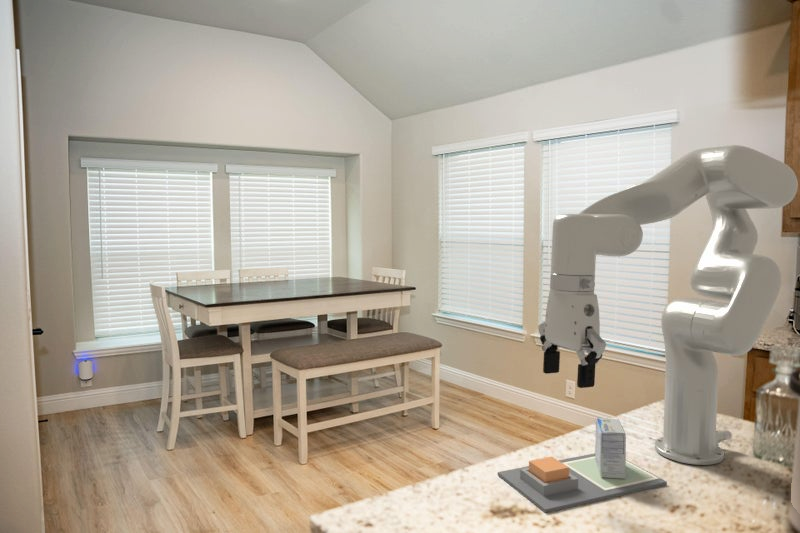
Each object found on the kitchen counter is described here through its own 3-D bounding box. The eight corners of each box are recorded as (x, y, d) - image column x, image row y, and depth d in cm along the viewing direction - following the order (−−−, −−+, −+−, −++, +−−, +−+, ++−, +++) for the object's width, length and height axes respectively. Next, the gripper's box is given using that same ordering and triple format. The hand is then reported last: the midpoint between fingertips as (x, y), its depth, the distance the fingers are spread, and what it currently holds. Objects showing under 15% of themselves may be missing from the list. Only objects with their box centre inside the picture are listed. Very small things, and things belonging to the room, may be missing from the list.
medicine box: (625, 480, 106) (626, 433, 105) (599, 478, 107) (600, 432, 106) (618, 462, 114) (619, 418, 113) (594, 460, 114) (595, 417, 114)
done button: (551, 469, 108) (552, 456, 108) (568, 480, 104) (569, 467, 103) (528, 473, 106) (528, 461, 106) (545, 485, 102) (545, 472, 102)
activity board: (608, 453, 119) (609, 442, 119) (666, 484, 105) (667, 472, 105) (497, 475, 110) (497, 462, 110) (545, 512, 96) (545, 498, 96)
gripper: (624, 289, 97) (618, 391, 98) (559, 279, 113) (555, 366, 114) (587, 290, 94) (582, 395, 95) (526, 279, 110) (522, 369, 111)
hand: (567, 379), depth 105 cm, fingers open, 9 cm apart
